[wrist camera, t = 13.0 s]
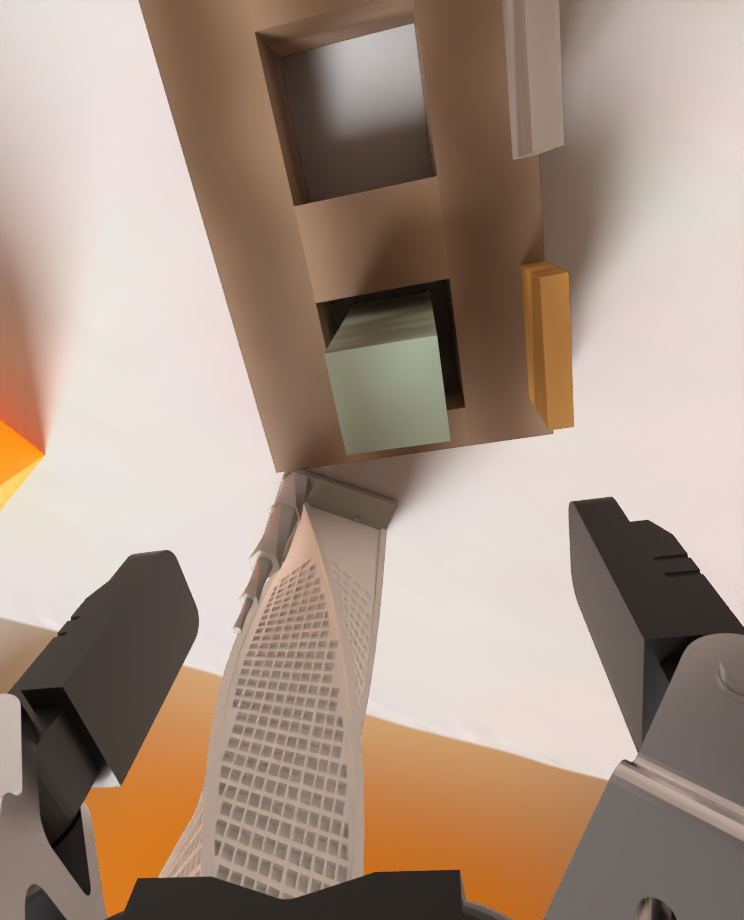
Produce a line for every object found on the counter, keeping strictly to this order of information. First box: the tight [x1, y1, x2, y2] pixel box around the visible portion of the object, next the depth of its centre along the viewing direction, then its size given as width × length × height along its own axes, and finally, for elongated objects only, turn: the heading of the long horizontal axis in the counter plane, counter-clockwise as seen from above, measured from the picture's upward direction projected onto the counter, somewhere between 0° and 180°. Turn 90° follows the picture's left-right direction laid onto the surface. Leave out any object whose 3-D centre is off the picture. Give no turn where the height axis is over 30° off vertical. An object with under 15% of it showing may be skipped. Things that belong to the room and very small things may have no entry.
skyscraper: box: [158, 469, 397, 899], centre depth 22 cm, size 8×8×28 cm
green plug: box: [324, 291, 451, 455], centre depth 24 cm, size 4×4×10 cm
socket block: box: [139, 0, 574, 473], centre depth 23 cm, size 14×20×8 cm
